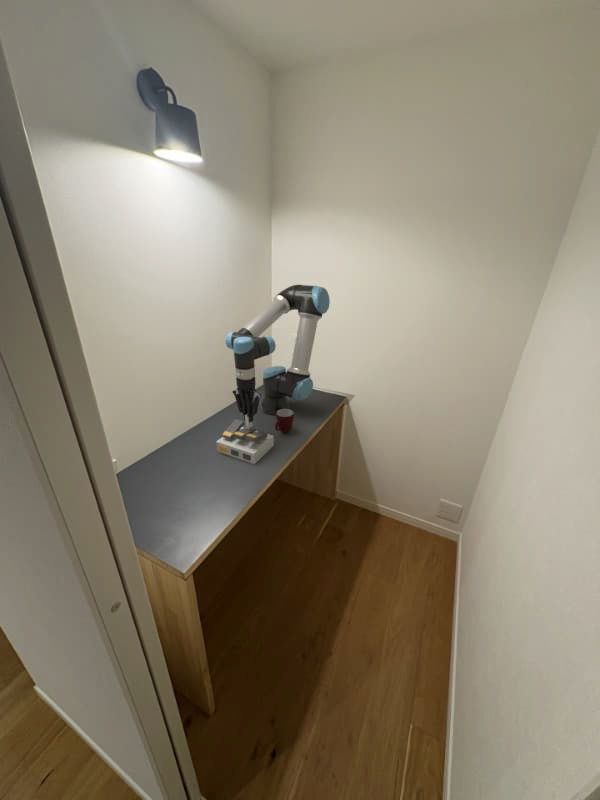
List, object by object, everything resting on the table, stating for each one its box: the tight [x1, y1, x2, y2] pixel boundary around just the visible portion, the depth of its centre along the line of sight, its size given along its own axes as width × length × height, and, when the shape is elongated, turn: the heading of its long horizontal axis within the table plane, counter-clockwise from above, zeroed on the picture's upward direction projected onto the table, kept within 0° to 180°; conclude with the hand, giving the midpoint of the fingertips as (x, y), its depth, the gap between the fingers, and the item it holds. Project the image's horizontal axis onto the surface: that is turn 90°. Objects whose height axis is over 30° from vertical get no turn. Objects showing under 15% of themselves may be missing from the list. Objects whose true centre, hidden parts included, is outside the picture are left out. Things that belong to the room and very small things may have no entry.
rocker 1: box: [221, 418, 245, 440], centre depth 135 cm, size 10×4×2 cm, turn 153°
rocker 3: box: [245, 430, 269, 442], centre depth 130 cm, size 10×4×2 cm, turn 153°
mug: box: [274, 408, 295, 434], centre depth 146 cm, size 10×8×10 cm
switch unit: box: [215, 426, 275, 465], centre depth 135 cm, size 15×19×7 cm
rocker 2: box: [233, 426, 257, 440], centre depth 133 cm, size 10×4×2 cm, turn 153°
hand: (249, 427), depth 135 cm, fingers closed
